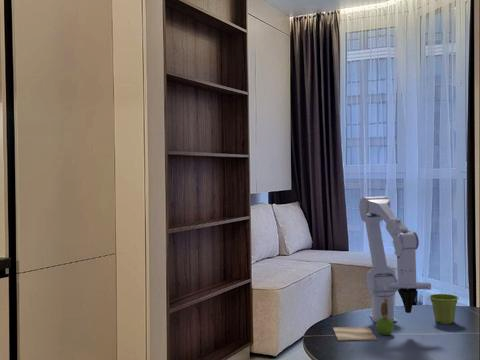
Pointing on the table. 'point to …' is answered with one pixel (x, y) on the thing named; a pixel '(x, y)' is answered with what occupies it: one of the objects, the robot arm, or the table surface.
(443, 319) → the plant pot
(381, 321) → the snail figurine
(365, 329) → the cork mat
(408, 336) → the table surface
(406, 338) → the table surface
